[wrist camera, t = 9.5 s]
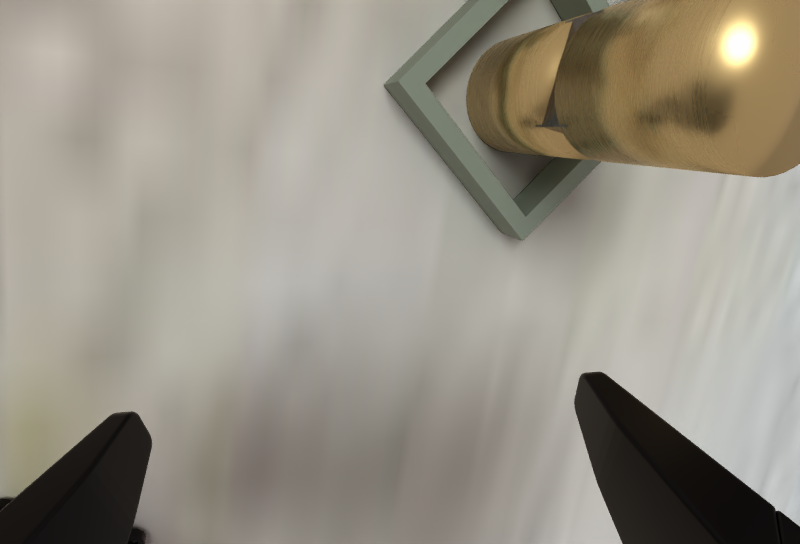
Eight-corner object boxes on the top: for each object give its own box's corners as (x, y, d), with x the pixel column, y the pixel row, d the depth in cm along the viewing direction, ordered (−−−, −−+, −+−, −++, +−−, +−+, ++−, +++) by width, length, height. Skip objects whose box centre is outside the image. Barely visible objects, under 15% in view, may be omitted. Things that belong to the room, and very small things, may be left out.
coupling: (541, 162, 23) (808, 195, 12) (454, 138, 21) (676, 151, 11) (573, 57, 22) (895, -8, 11) (483, 22, 20) (765, -96, 9)
